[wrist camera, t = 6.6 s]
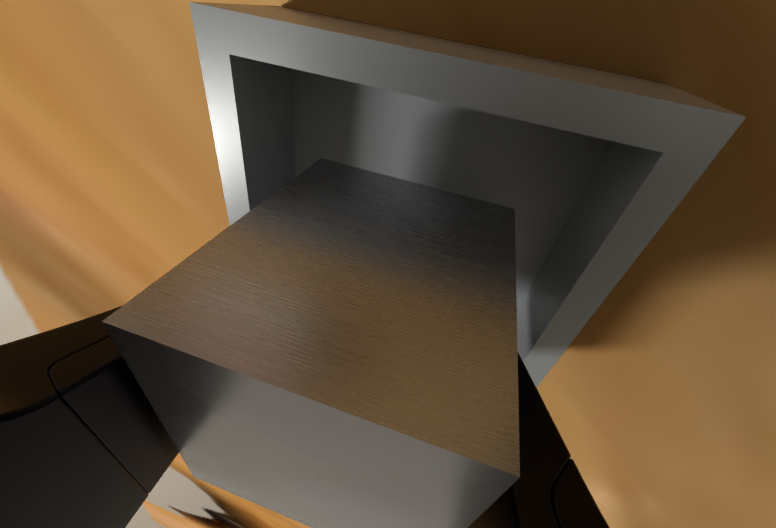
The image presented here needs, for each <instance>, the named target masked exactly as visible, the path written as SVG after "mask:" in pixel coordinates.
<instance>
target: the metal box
mask: <svg viewBox="0 0 776 528" xmlns="http://www.w3.org/2000/svg"><path fill="white" fill-rule="evenodd" d="M102 323H103V324H104V326H105V328H106V329H107V331H108V333H109V335H110V336H111V338H112V340H113V341H114V343H115V345H116V346H117V348H118V350H119V351H120V353H121V355H122V356H123V358H124V360H125V362H126V363H127V365H128V367H129V368H130V370H131V372H132V373H133V375H134V377H135V378H136V380H137V382H138V383H139V385H140V387H141V389H142V390H143V392H144V394H145V395H146V397H147V399H148V400H149V402H150V404H151V405H152V407H153V409H154V410H155V412H156V414H157V416H158V417H159V419H160V421H161V422H162V424H163V426H164V427H165V429H166V431H167V432H168V434H169V436H170V437H171V439H172V441H173V443H174V444H175V446H176V448H177V449H178V451H179V453H180V454H181V456H182V458H183V459H184V461H185V463H186V465H187V466H188V468H189V470H190V471H191V473H192V475H193V476H194V477H195V478H198V479H200V480H202V481H205V482H207V483H209V484H212V485H214V486H216V487H219V488H221V489H223V490H226V491H228V492H230V493H233V494H235V495H237V496H240V497H242V498H244V499H247V500H249V501H251V502H254V503H256V504H258V505H261V506H263V507H265V508H268V509H270V510H272V511H275V512H277V513H279V514H282V515H284V516H286V517H289V518H291V519H293V520H296V521H298V522H300V523H303V524H305V525H307V526H309V527H312V528H468V527H469V526H470V525H471V524H472V523H473V522H474V521H475V520H476V519H477V518H478V517H479V516H480V515H481V514H482V513H483V512H484V511H485V510H486V509H487V508H488V507H490V506H491V505H492V504H493V503H494V502H495V501H496V500H497V499H498V498H499V497H500V496H501V495H502V494H503V493H504V492H505V491H506V490H507V489H508V488H509V487H510V486H511V485H513V484H514V483H515V482H516V481H517V480H518V479H519V478H520V451H519V401H518V350H517V299H516V248H515V209H513V208H509V207H505V206H502V205H498V204H494V203H490V202H486V201H483V200H479V199H475V198H471V197H467V196H464V195H460V194H456V193H452V192H448V191H445V190H441V189H437V188H433V187H429V186H426V185H422V184H418V183H414V182H411V181H407V180H403V179H399V178H395V177H392V176H388V175H384V174H380V173H376V172H373V171H369V170H365V169H361V168H357V167H354V166H350V165H346V164H342V163H338V162H335V161H331V160H327V159H323V158H320V159H319V160H318V161H316V162H315V163H314V164H312V165H311V166H310V167H308V168H307V169H306V170H304V171H303V172H302V173H300V174H299V175H298V176H296V177H295V178H293V179H292V180H291V181H289V182H288V183H287V184H285V185H284V186H283V187H281V188H280V189H279V190H277V191H276V192H275V193H273V194H272V195H271V196H269V197H268V198H267V199H265V200H264V201H263V202H261V203H260V204H259V205H257V206H256V207H255V208H253V209H252V210H251V211H249V212H248V213H247V214H245V215H244V216H243V217H241V218H240V219H239V220H237V221H236V222H234V223H233V224H232V225H230V226H229V227H228V228H226V229H225V230H224V231H222V232H221V233H220V234H218V235H217V236H216V237H214V238H213V239H212V240H210V241H209V242H208V243H206V244H205V245H204V246H202V247H201V248H200V249H198V250H197V251H196V252H194V253H193V254H192V255H190V256H189V257H188V258H186V259H185V260H184V261H182V262H181V263H180V264H178V265H177V266H175V267H174V268H173V269H171V270H170V271H169V272H167V273H166V274H165V275H163V276H162V277H161V278H159V279H158V280H157V281H155V282H154V283H153V284H151V285H150V286H149V287H147V288H146V289H145V290H143V291H142V292H141V293H139V294H138V295H137V296H135V297H134V298H133V299H131V300H130V301H129V302H127V303H126V304H125V305H123V306H122V307H121V308H119V309H118V310H116V311H115V312H114V313H112V314H111V315H110V316H108V317H107V318H106V319H104V320H103V321H102Z"/></svg>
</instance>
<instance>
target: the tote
mask: <svg viewBox="0 0 776 528" xmlns="http://www.w3.org/2000/svg"><path fill="white" fill-rule="evenodd" d="M190 8H191V14H192V19H193V25H194V30H195V36H196V41H197V47H198V52H199V58H200V63H201V69H202V75H203V80H204V86H205V91H206V97H207V102H208V108H209V113H210V119H211V125H212V130H213V136H214V141H215V147H216V152H217V158H218V163H219V169H220V175H221V180H222V186H223V191H224V197H225V202H226V208H227V213H228V219H229V225H232V224H233V223H234V222H236V221H237V220H239V219H240V218H241V217H243V216H244V215H245V214H247V213H248V212H249V211H251V210H252V209H253V208H255V207H256V206H257V205H259V204H260V203H261V202H263V201H264V200H265V199H267V198H268V197H269V196H271V195H272V194H273V193H275V192H276V191H277V190H279V189H280V188H281V187H283V186H284V185H285V184H287V183H288V182H289V181H291V180H292V179H293V178H295V177H296V176H298V175H299V174H300V173H302V172H303V171H304V170H306V169H307V168H308V167H310V166H311V165H312V164H314V163H315V162H316V161H318V160H319V159H320V158H323V159H327V160H331V161H335V162H338V163H342V164H346V165H350V166H354V167H357V168H361V169H365V170H369V171H373V172H376V173H380V174H384V175H388V176H392V177H395V178H399V179H403V180H407V181H411V182H414V183H418V184H422V185H426V186H429V187H433V188H437V189H441V190H445V191H448V192H452V193H456V194H460V195H464V196H467V197H471V198H475V199H479V200H483V201H486V202H490V203H494V204H498V205H502V206H505V207H509V208H513V209H515V248H516V299H517V350H518V353H519V355H520V357H521V359H522V361H523V363H524V365H525V366H526V368H527V370H528V372H529V374H530V376H531V378H532V380H533V382H534V384H535V386H536V387H537V386H538V385H539V384H540V382H541V381H542V380H543V378H544V377H545V376H546V375H547V373H548V372H549V371H550V369H551V368H552V367H553V365H554V364H555V363H556V362H557V360H558V359H559V358H560V356H561V355H562V354H563V353H564V351H565V350H566V349H567V347H568V346H569V345H570V344H571V342H572V341H573V340H574V338H575V337H576V336H577V335H578V333H579V332H580V331H581V329H582V328H583V327H584V326H585V324H586V323H587V322H588V320H589V319H590V318H591V317H592V315H593V314H594V313H595V311H596V310H597V309H598V308H599V306H600V305H601V304H602V302H603V301H604V300H605V299H606V297H607V296H608V295H609V293H610V292H611V291H612V290H613V288H614V287H615V286H616V284H617V283H618V282H619V281H620V279H621V278H622V277H623V275H624V274H625V273H626V272H627V270H628V269H629V268H630V266H631V265H632V264H633V263H634V261H635V260H636V259H637V257H638V256H639V255H640V254H641V252H642V251H643V250H644V248H645V247H646V246H647V244H648V243H649V242H650V241H651V239H652V238H653V237H654V235H655V234H656V233H657V232H658V230H659V229H660V228H661V226H662V225H663V224H664V223H665V221H666V220H667V219H668V217H669V216H670V215H671V214H672V212H673V211H674V210H675V208H676V207H677V206H678V205H679V203H680V202H681V201H682V199H683V198H684V197H685V196H686V194H687V193H688V192H689V190H690V189H691V188H692V187H693V185H694V184H695V183H696V181H697V180H698V179H699V178H700V176H701V175H702V174H703V172H704V171H705V170H706V169H707V167H708V166H709V165H710V163H711V162H712V161H713V160H714V158H715V157H716V156H717V154H718V153H719V152H720V151H721V149H722V148H723V147H724V145H725V144H726V143H727V142H728V140H729V139H730V138H731V136H732V135H733V134H734V133H735V131H736V130H737V129H738V127H739V126H740V125H741V123H742V122H743V121H744V120H745V118H746V117H745V116H743V115H740V114H738V113H736V112H733V111H731V110H728V109H726V108H724V107H721V106H719V105H717V104H714V103H712V102H710V101H707V100H705V99H702V98H700V97H698V96H695V95H693V94H691V93H688V92H686V91H683V90H681V89H679V88H676V87H674V86H672V85H669V84H665V83H660V82H655V81H650V80H645V79H640V78H635V77H630V76H625V75H620V74H615V73H610V72H605V71H600V70H595V69H590V68H585V67H580V66H575V65H570V64H565V63H560V62H555V61H550V60H545V59H540V58H535V57H530V56H525V55H520V54H515V53H510V52H505V51H500V50H495V49H490V48H485V47H480V46H475V45H470V44H465V43H460V42H455V41H450V40H445V39H440V38H435V37H430V36H425V35H420V34H415V33H410V32H405V31H400V30H395V29H390V28H385V27H380V26H375V25H370V24H365V23H360V22H355V21H350V20H345V19H340V18H335V17H330V16H325V15H320V14H315V13H310V12H305V11H300V10H295V9H290V8H285V7H280V6H263V5H243V4H222V3H201V2H190Z"/></svg>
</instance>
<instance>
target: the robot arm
mask: <svg viewBox="0 0 776 528" xmlns="http://www.w3.org/2000/svg"><path fill="white" fill-rule="evenodd" d="M121 307H122V306H120V307H117V308H114V309H112V310H109V311H106V312H103V313H100V314H98V315H95V316H92V317H89V318H86V319H83V320H80V321H77V322H74V323H71V324H68V325H65V326H62V327H59V328H55V329H52V330H49V331H46V332H43V333H39V334H36V335H33V336H30V337H27V338H23V339H20V340H17V341H13V342H10V343H7V344H4V345H0V528H125V527H126V526H127V524H128V523H129V522H130V520H131V519H132V517H133V516H134V514H135V513H136V512H137V510H138V509H139V508H140V506H141V505H142V503H143V502H144V501H145V499H146V498H147V496H148V493H150V492H151V490H152V489H153V488H154V486H155V485H156V483H157V482H158V481H159V479H160V478H161V477H162V475H163V473H164V472H165V471H166V470H167V468H168V467H169V465H170V464H171V463H172V461H173V460H174V458H175V457H176V456H177V454H178V453H179V451H178V449H177V448H176V446H175V444H174V443H173V441H172V439H171V437H170V436H169V434H168V432H167V431H166V429H165V427H164V426H163V424H162V422H161V421H160V419H159V417H158V416H157V414H156V412H155V410H154V409H153V407H152V405H151V404H150V402H149V400H148V399H147V397H146V395H145V394H144V392H143V390H142V389H141V387H140V385H139V383H138V382H137V380H136V378H135V377H134V375H133V373H132V372H131V370H130V368H129V367H128V365H127V363H126V362H125V360H124V358H123V356H122V355H121V353H120V351H119V350H118V348H117V346H116V345H115V343H114V341H113V340H112V338H111V336H110V335H109V333H108V331H107V329H106V328H105V326H104V324H103V323H102V321H103V320H104V319H106V318H107V317H108V316H110V315H111V314H112V313H114V312H115V311H116V310H118V309H119V308H121ZM518 401H519V451H520V478H519V479H518V480H517V481H516V482H515V483H514V484H513V485H511V486H510V487H509V488H508V489H507V490H506V491H505V492H504V493H503V494H502V495H501V496H500V497H499V498H498V499H497V500H496V501H495V502H494V503H493V504H492V505H491V506H490V507H488V508H487V509H486V510H485V511H484V512H483V513H482V514H481V515H480V516H479V517H478V518H477V519H476V520H475V521H474V522H473V523H472V524H471V525H470V526H469V527H468V528H609V526H608V524H607V522H606V521H605V519H604V517H603V516H602V514H601V512H600V510H599V508H598V506H597V505H596V503H595V501H594V499H593V497H592V495H591V493H590V492H589V490H588V488H587V486H586V484H585V482H584V480H583V478H582V476H581V474H580V472H579V470H578V468H577V467H576V465H575V463H574V461H573V460H572V459H570V457H571V455H570V453H569V451H568V449H567V447H566V445H565V443H564V441H563V439H562V437H561V435H560V433H559V431H558V429H557V428H556V426H555V424H554V422H553V420H552V418H551V416H550V414H549V412H548V410H547V408H546V406H545V404H544V402H543V400H542V398H541V396H540V394H539V392H538V390H537V388H536V386H535V384H534V382H533V380H532V378H531V376H530V374H529V372H528V370H527V368H526V366H525V365H524V363H523V361H522V359H521V357H520V355H519V353H518Z"/></svg>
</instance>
